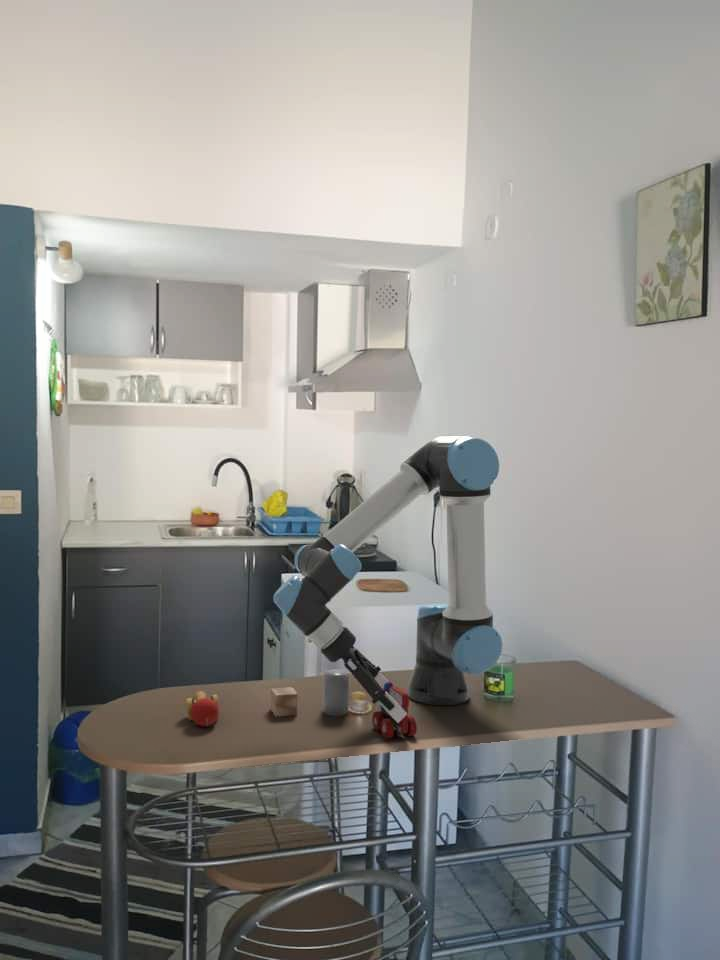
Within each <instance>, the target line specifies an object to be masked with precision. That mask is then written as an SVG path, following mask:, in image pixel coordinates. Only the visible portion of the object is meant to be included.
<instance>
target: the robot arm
mask: <svg viewBox="0 0 720 960" xmlns="http://www.w3.org/2000/svg"><path fill="white" fill-rule="evenodd" d="M499 460H500V459H499V457H498V453H497V452H496V450H495V449H494V447H493V446H492V445H491V444H490V443H489V442H488V441H486V440H484V439H482V438H479V437H474V436H469V435H466V436H465V435H463V436H461V435H459V436H456V435H455V436H452V435H442V436H438V437H435V438H433V439H431V440H430V441H429V442H427V443H425V444H424V445H422V446H421V447H420V448H419V449H418V450H416V451H415V452H414V453H413V454H411V455H410V457H408V458H407V459H406V460H405V461H403V462H402V463H400V466H399V467H400V468H399V470H398V472H397V473H396V474H394V475H393V476H392V477H391V478H390V479H389V480H388V481H386V482H385V483H384V484H383V485H382V486H380V487H379V488H378V489H377V490H376V491H374V492H373V493H372V494H371V495H369V496H368V497H367V498H366V499H365V500H364V501H362V503H360V504H359V505H358V506H357V507H356V508H354V509H353V510H352V511H351V512H349V513H348V514H347V515H346V516H345V517H344V518H342V519H341V520H340V521H339V522H337V523H336V524H335V525H334V526H333V527H332V528H331V529H329V530H328V531H327V532H326V533H325V534H324V535H322V536H321V537H320V538H318V539H317V540H316V541H314V543H310V544H305V545H304V544H303V546H301V547H300V548H298V549H297V551H296V552H295V554H294V561H293V562H294V567H295V569H296V571H298V572H299V574H300V575H301V576H304V577H303V578H301V577H299V576H297V575H292V576H291V577H290V578H288V579H287V580H286V581H285V582H284V583H283V584H281V586H280V587H279V588H278V589H277V590H276V591H275V593H274V594H273V597H272V598H273V603H274V604H275V605H276V606H277V607H278V608H279V610H280V611H281V612H282V613H283V615H285V617H287V618H288V619H289V621H290V622H292V623H293V624H294V626H295V627H296V628H297V629H299V631H300V632H301V633H302V634H303V635H304V636H305V637H306V638H308V639H307V640H306V641H307V643H309V644H311V643H312V644H313V645H314V646H315V647H316V648H317V649H320V653H322V655H323V656H325V658H327V660H328V661H329V662H330V663H336V662H338V661H339V660H340V659H342V660H343V665H344V667H345V669H347V671H348V672H349V673H350V674H352V676H353V677H354V679H355V680H356V681H357V682H358V683H359V684H360V685H361V687H362V688H363V689H364V690H365V691H366V693H367V694H368V695H369V696H370V697H371V698H372V700H371V702H372V703H373V704H374V705H375V704H377V703H378V705H379V704H380V705H381V706H382V707H383V708H384V709H385V710H386V711H387V712H388V713H389V714H390V715H391V716H392V718H393V719H394V720H395V721H396V722H397V723H399V722H400V721H401V720H402V719H403V718H404V717H405V716H406V715H407V713H406V712H405V711H404V709H403V708H402V707H401V706H400V705H399V704H398V703H397V702H396V701H395V700H394V699H393V698H392V697H391V696H390V695H389V694H388V693H387V692H385V691H384V690H383V688H384V685H385V683H386V682H389V680H388V679H387V678H386V677H385V676H384V675H383V674H382V673H381V671H382V669H381V667H380V666H379V665H377V666H376V665H375V664H374V663H372V662H371V661H370V660H369V659H368V658H367V657H366V656H365V655H364V654H362V652H360V650H359V649H357V648H356V647H355V646H354V644H355V643H356V642H357V641H356V640H357V638H356V635H354V634H353V633H352V632H351V630H349V628H348V627H347V626H344V623H343V622H342V621H341V620H340V619H339V617H338V616H337V615H336V614H334V612H333V611H332V610H330V608H328V606H327V605H328V603H330V602H331V601H332V600H333V599H334V597H335V596H337V595H338V593H340V592H341V591H342V590H343V589H344V587H346V586H347V585H348V584H349V583H350V582H351V581H352V580H354V578H355V577H356V575H358V573H359V572H361V570H362V562H361V561H360V559H359V558H358V557H357V555H356V554H355V553H354V552H356V550H357V549H359V548H360V547H361V546H362V545H363V544H365V543H366V542H367V541H369V539H370V538H372V537H373V536H374V535H375V534H376V533H377V532H379V531H380V530H381V529H382V528H383V527H384V526H385V525H387V524H388V523H389V522H390V521H391V520H393V519H394V518H395V517H397V515H398V514H400V512H402V511H403V510H405V508H408V506H409V505H410V504H412V502H414V501H415V500H416V499H418V498H419V497H420V496H427V495H429V494H430V493H431V492H432V491H433V490H435V489H437V488H438V489H439V497H440V498H441V499H442V501H443V502H444V503H445V505H446V506H445V507H446V544H447V545H446V546H447V582H448V583H447V585H448V586H447V587H448V589H447V591H448V603H427V604H422V605H421V606H420V607H419V608H418V610H417V618H416V622H417V623H416V645H415V646H416V647H415V648H416V650H415V651H416V653H415V665H414V667H413V671H412V672H411V676H410V679H409V681H408V684H407V694H408V696H409V699H411V700H413V701H416V702H418V703H422V704H426V705H432V706H454V705H455V706H456V705H460V704H464V703H466V702H467V701H468V700H469V699H470V698H469V695H470V692H469V691H470V689H469V685H468V682H467V677H466V673H467V674H471V675H481V674H485V673H486V672H488V671H489V670H491V669H492V668H493V666H495V664H496V663H497V662H498V661H499V659H500V657H501V655H502V651H503V640H502V639H503V638H502V637H501V634H499V632H498V630H496V629H495V628H494V613H493V611H492V609H490V608H489V607H488V606H487V596H486V595H487V591H486V548H485V547H486V546H485V543H486V542H485V539H486V538H485V537H486V535H485V502H486V501H487V499H489V498H490V497H491V496H492V495H491V485H493V484H494V482H495V480H496V479H497V478H498V475H499V471H500V461H499Z"/></svg>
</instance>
